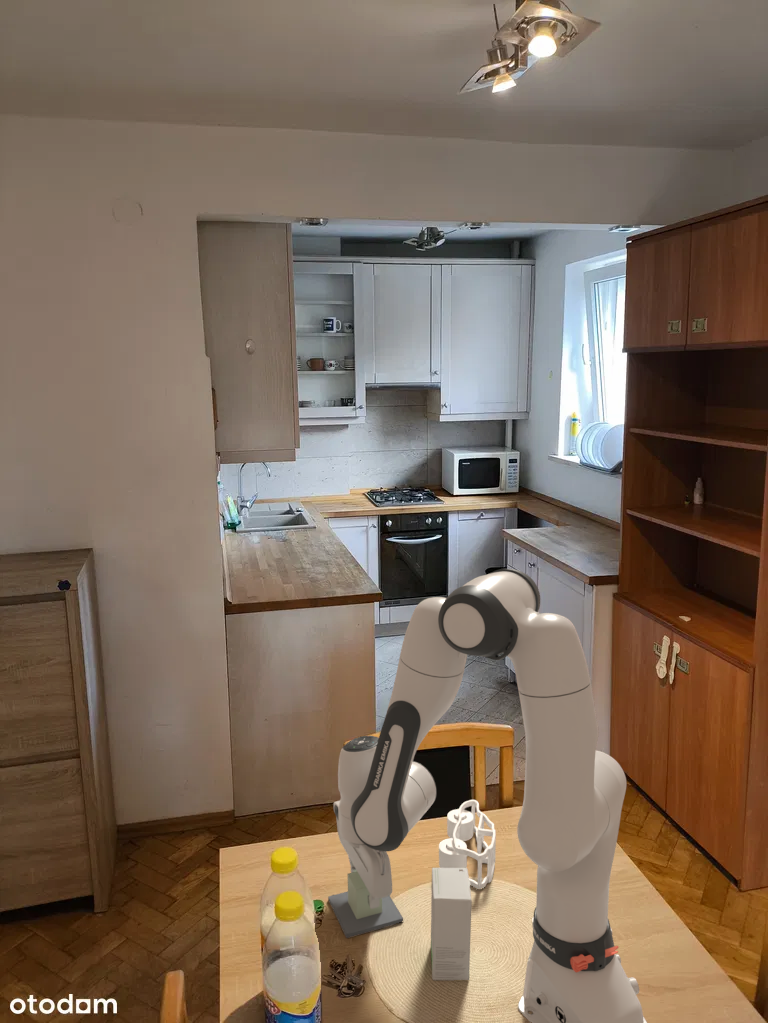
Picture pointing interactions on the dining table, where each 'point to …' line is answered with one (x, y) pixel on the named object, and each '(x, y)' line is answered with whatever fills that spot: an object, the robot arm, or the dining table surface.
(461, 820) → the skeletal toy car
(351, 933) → the slate mat
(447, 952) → the skincare box
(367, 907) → the sage block
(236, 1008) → the dining table surface
